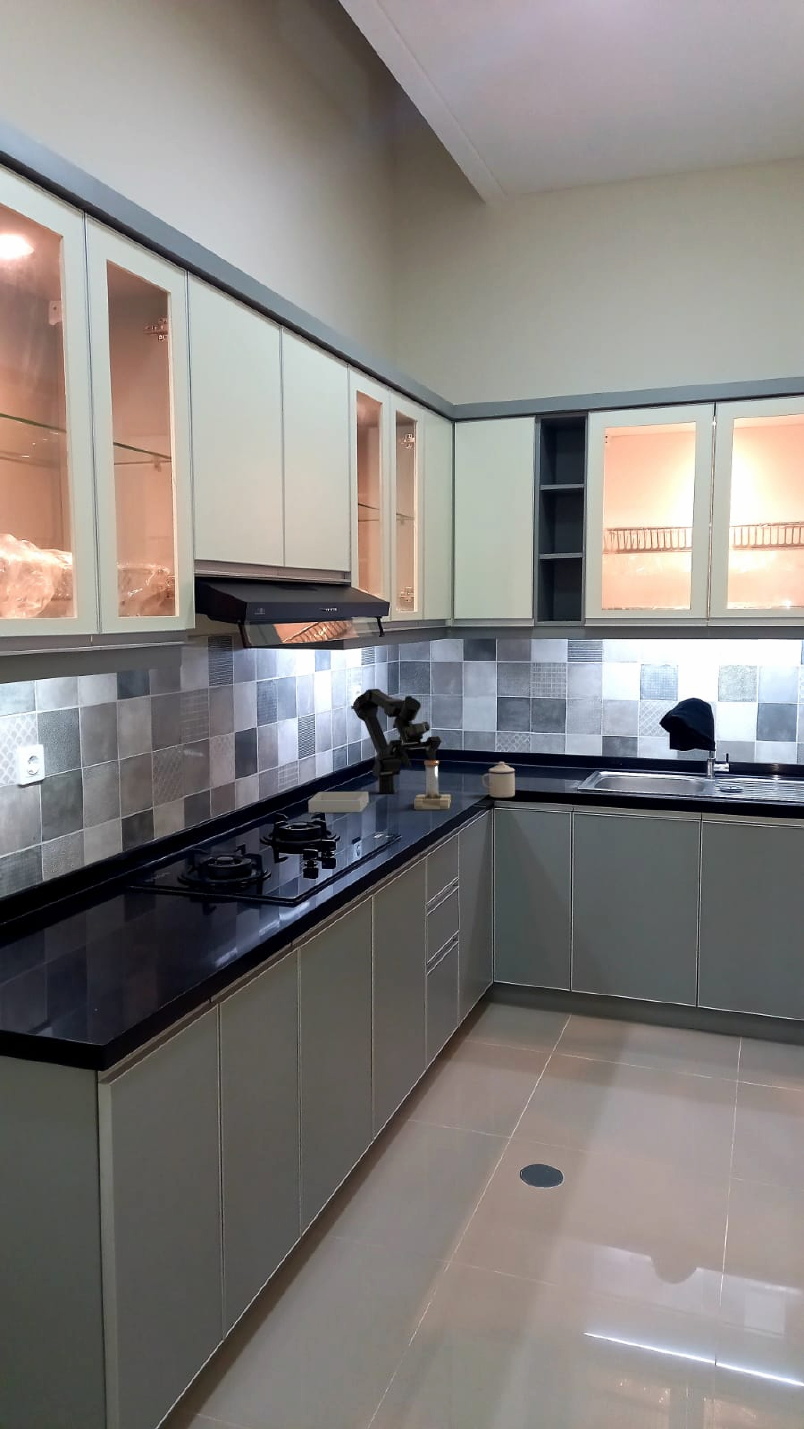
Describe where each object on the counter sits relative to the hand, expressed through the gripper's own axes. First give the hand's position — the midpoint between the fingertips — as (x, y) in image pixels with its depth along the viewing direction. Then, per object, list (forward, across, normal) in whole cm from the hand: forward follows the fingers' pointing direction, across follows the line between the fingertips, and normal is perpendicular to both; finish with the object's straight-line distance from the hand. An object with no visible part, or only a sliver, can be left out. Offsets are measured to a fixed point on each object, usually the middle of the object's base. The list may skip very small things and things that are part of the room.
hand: (422, 765), depth 338 cm
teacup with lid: (+10, +29, +8) cm, 31 cm away
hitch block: (+14, 0, +5) cm, 14 cm away
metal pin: (+14, 0, +5) cm, 14 cm away
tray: (+2, -26, +16) cm, 31 cm away
